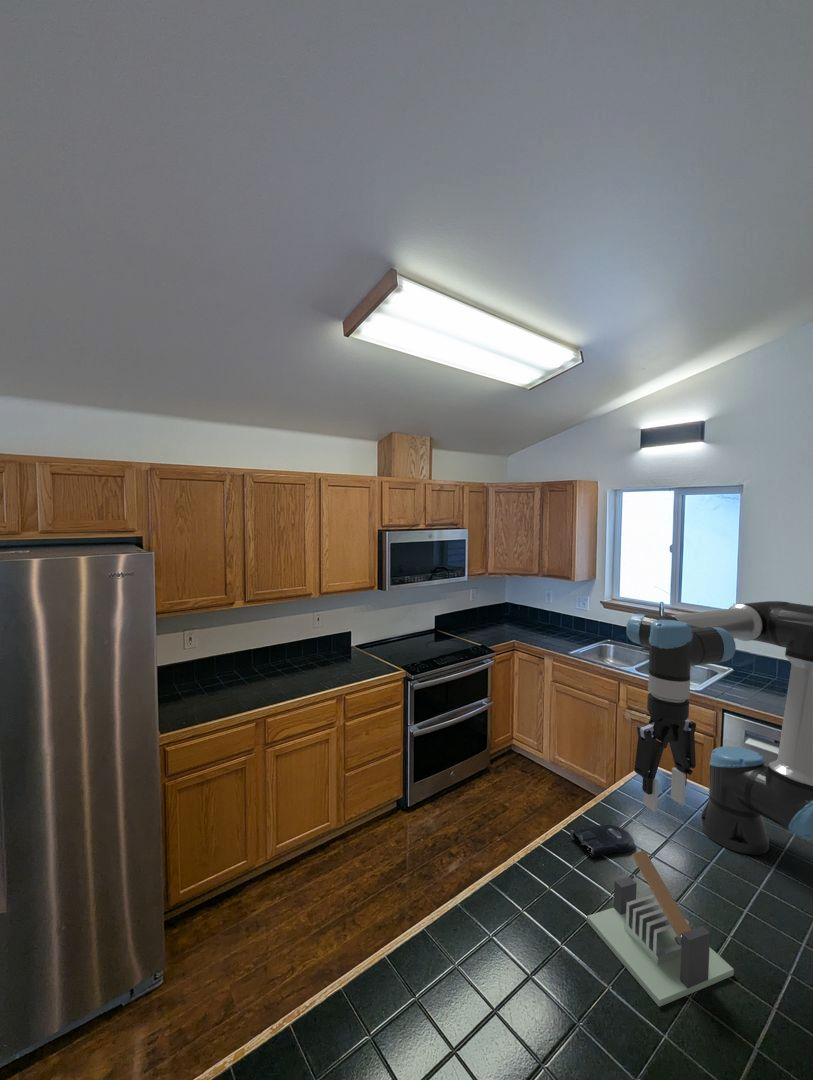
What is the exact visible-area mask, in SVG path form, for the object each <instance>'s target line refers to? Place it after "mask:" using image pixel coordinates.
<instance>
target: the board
mask: <svg viewBox="0 0 813 1080" xmlns="http://www.w3.org/2000/svg"><path fill="white" fill-rule="evenodd" d="M637 884H638V883H637V882H636V881H635V880H634V879H633V878H632V877H631V876H626V877H622V878H619V879H616V880H614V887H613V888H614V889H613V907H611V908H608V909H604V910H602V911H599V912H596V913H593V914H589V915H587V916H586V923H587V924H588V925H589V926H590V927H591V929H593V930H594V932H595V933H596V934H597V935H598V936H599V938H600V939H601V940H602V941H603V942H604V943H605V945H606V946H607V947H608V948H609V949H610V950H611V952H612V953H613V954H614V955H615V957H616V958H617V959H618V961H620V963H621V964H622V965H623V966H624V967H625V969H627V971H628V972H629V973H630V975H632V977H633V978H634V979H635V980H636V982H637V983H638V984H639V985H640V986H641V987H642V989H643V990H644V991H645V993H647V995H649V997H650V998H651V999H652V1001H654V1002H655V1005H657V1006H658V1007H659V1008H660V1007H662V1006H665V1005H667V1004H670V1003H672V1002H675V1001H677V1000H679V999H682V998H683V997H686V996H688V995H690V994H693V993H696V992H697V991H700V990H702V989H705V988H707V987H710V986H712V985H715V984H717V983H719V982H721V981H724V980H725V979H729V978H731V977H733V976H734V973H735V970H734V968H733V967H732V966H731V965H730V964H729V963H728V962H727V961H726V960H725V959H723V958H722V956H720V955H719V954H718V953H717V952H716V951H714V949H712V948H711V947H710V946H711V945H710V944H711V932H710V931H709V930H708V929H706V927H705V926H703V925H701V926H698V927H695V928H692V929H691V930H690V931H687V932H684V933H682V944H681V956H680V957H678V958H675V959H673V960H670V961H667V962H665V963H662V964H660V965H657V964H656V963H655V962H654V961H653V960H652V959H651V958H650V957H649V956H648V955H647V954H646V952H645V951H644V950H643V949H642V948H641V947H640V946H639V945H638V944H637V943H636V942H635V941H634V939H633V938H632V937H631V936H630V935H629V934H628V933H627V932H626V931H625V930H624V923H625V922H626V906H627V902H630V901H633V900H636V899H637Z"/></svg>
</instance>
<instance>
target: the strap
mask: <svg viewBox="0 0 813 1080" xmlns="http://www.w3.org/2000/svg"><path fill="white" fill-rule="evenodd" d="M631 856H632V858H633V860H634V861H635V863H636V865H637V867H638V869H639V871H640V873H641V874H642V876H643V877H644V880H645V882H646V884H647V885H648V887H649V889H650V890H651V892H652V894H654V896H655V898H656V899H657V901H658V903H659V905H660V907H661V908H662V910H663V912H664V914H665V916H666V917H667V919H668V921H669V923H670V924H671V926H672V928H673V930H674V932H675V933H676V935H677V936H676V937H675V941H676V943H677V944H678V945H681V944H682V933H684V932H687V931H690V930H692V929H691V927H690V925H688V923H687V922H686V920H687V919H686V918H685V916H684V915H683V913H682V912H681V910H680V908H679V906H678V905H677V903H676V901H675V900H674V897H673V896H672V894H671V893H670V891H669V889H668V888H667V886H666V884H665V882H664V880H663V878H662V877H661V876H660V873H659V872H658V870H657V869H656V867H655V865H654V864H653V862H652V860H651V858H650V856H649V855H648V853H647V851H646V850H642V851H637V852H634V853H632V854H631ZM685 919H686V920H685Z"/></svg>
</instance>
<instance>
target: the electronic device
mask: <svg viewBox="0 0 813 1080" xmlns="http://www.w3.org/2000/svg"><path fill="white" fill-rule="evenodd" d="M569 834H570V839H571V840H572V841H574V842H576V844H577V845H578V846H579V848H581V849H582V848H583V849H582V851H584V852H586V853H587V854H588V856H589V857H590V858H595V857H599V856H600V857H601V856H604V855H610V854H614V853H629V852H630V851H632V850H633V849H634V847H635V839H634V838H633V836H632V835H631V834H630V832H629V831H628V830H626V829H624V828H622V827H621V826H617V825H616V824H615V825H614V824H611V823H610V824H609V823H608V824H606V823H605V824H599V825H594V826H591V827H585V828H583V829H581V830H578V831H575V830H574V829H573V830H572V829H570V830H569ZM577 842H578V843H577ZM579 843H581V844H582V845H581V844H579ZM583 845H585V846H583ZM586 846H588V847H589V848H591V850H592V853H591V854H592V856H591V855H589V852H591V851H590V850H587V848H588V847H586ZM588 851H589V852H588Z"/></svg>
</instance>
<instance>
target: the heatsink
mask: <svg viewBox="0 0 813 1080" xmlns="http://www.w3.org/2000/svg"><path fill="white" fill-rule="evenodd" d="M685 920H686V922H687V923H688V925H689V924H690V921H689V920H688V919H686V918H685ZM689 926H690V925H689ZM624 930H625V931H626V932H627V933H628V934H629V935H630V936H631V937H632V938H633V939H634V941H635V942H636V943H637V944H638V945H639V946H640V947H641V948H642V949H643V950H644V951H645V952H646V954H647V955H648V956H649V957H650V958H651V959H652V960H653V961H654V962H655V963H656V964H657V965H660V964H662V963H665V962H667V961H670V960H673V959H675V958H678V957H680V956H681V945H678V944H677V943H676V941H675V937H676V936H677V935H676V933H675V932H674V930H673V928H672V926H671V924H670V923H669V921H668V919H667V917H666V916H665V914H664V912H663V910H662V908H661V907H660V905H659V903H658V901H657V899H656V898H655V896H654V894H653V893H652V894H650V895H645V896H643V897H640V898H636V900H633V901H630V902H627V906H626V922H625V923H624Z"/></svg>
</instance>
